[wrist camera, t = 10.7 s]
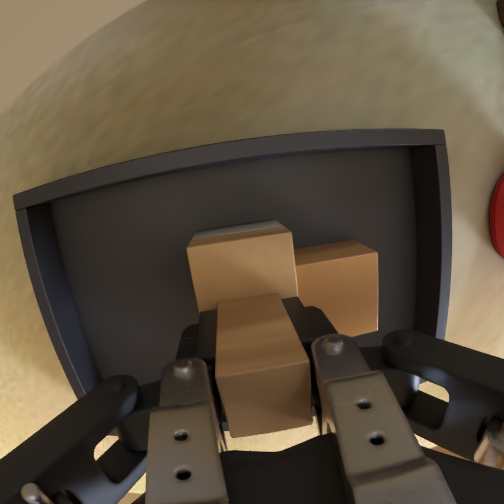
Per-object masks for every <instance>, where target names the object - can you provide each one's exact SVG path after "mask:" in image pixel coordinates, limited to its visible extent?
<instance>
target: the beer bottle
mask: <svg viewBox="0 0 504 504" xmlns="http://www.w3.org/2000/svg"><path fill="white" fill-rule="evenodd" d="M497 4H498V8H499V14H500V19H501V23H502V25H503V27H504V0H498V2H497Z"/></svg>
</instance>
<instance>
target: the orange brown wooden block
mask: <svg viewBox="0 0 504 504" xmlns="http://www.w3.org/2000/svg"><path fill="white" fill-rule="evenodd" d="M294 257H295V267H296V276H297V287H298V297H299V299H300V301H301V302H302V304H303V305H304V307H307V306H312V305H313V306H315V307H317V308H319V309H321V310H322V311H323V312H324V314H325V315H326V317H327V318H328V319H329V322H331V323H332V325H333V326H334V327H335V329H336V330H337V332H338V333H339V334H344V335H348V336H350V337H353V336H357V335H362V334H366V333H370V332H373V331H377V330H378V253H377V252H376V251H374V250H372V249H370V248H368V247H366V246H365V245H363V244H361V243H359V242H357V241H355V240H347V241H341V242H335V243H328V244H322V245H315V246H309V247H303V248H296V249H294Z"/></svg>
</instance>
